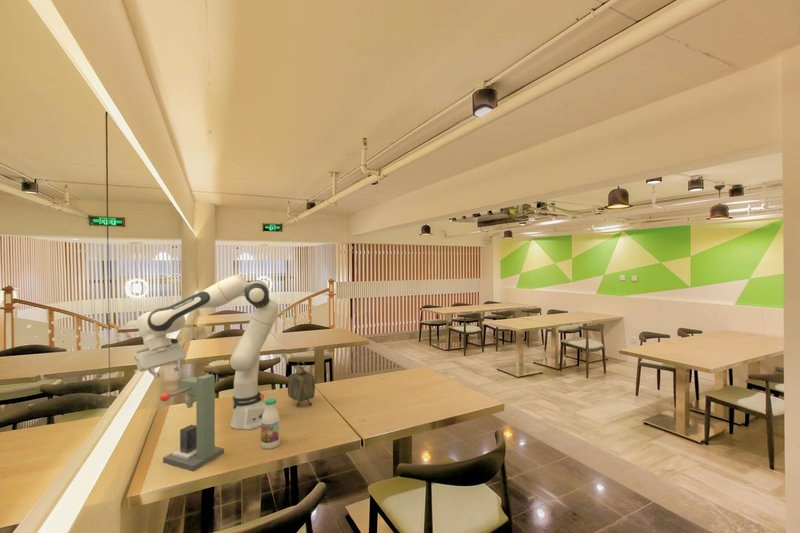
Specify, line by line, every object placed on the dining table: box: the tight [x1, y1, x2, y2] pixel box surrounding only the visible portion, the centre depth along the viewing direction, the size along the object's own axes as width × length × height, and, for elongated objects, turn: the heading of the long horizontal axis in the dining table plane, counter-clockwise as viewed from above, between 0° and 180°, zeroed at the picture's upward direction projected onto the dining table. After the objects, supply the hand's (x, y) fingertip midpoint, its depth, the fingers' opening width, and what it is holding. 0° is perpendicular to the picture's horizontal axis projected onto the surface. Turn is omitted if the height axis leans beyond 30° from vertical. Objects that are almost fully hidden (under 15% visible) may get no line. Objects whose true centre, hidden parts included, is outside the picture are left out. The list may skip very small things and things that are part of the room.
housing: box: [179, 424, 197, 454], centre depth 143 cm, size 5×4×9 cm
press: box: [159, 374, 225, 472], centre depth 139 cm, size 17×22×34 cm
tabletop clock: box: [287, 360, 316, 407], centre depth 197 cm, size 14×9×25 cm, turn 49°
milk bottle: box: [260, 397, 281, 450], centre depth 152 cm, size 8×8×20 cm
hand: (167, 374), depth 157 cm, fingers open, 8 cm apart
